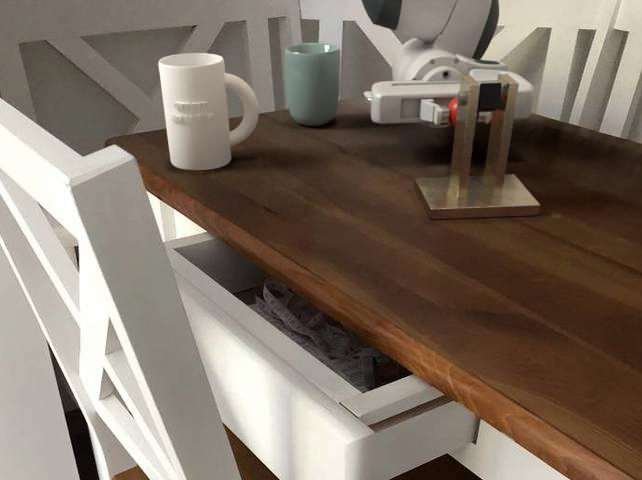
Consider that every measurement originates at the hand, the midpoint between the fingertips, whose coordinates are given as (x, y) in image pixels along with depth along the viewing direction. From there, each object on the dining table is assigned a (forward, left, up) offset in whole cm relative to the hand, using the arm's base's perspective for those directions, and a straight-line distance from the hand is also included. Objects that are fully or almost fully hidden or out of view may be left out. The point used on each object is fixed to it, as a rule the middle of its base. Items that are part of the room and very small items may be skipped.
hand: (464, 117), depth 86 cm
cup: (+16, -26, -7) cm, 31 cm away
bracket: (0, +8, -7) cm, 11 cm away
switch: (0, +4, 0) cm, 4 cm away
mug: (+30, -10, -7) cm, 32 cm away
